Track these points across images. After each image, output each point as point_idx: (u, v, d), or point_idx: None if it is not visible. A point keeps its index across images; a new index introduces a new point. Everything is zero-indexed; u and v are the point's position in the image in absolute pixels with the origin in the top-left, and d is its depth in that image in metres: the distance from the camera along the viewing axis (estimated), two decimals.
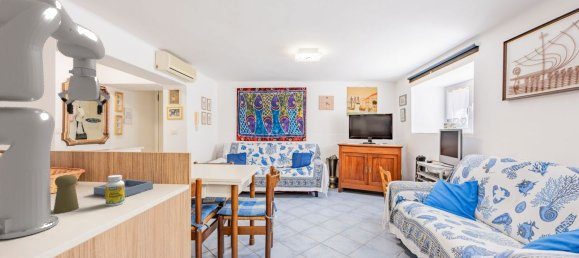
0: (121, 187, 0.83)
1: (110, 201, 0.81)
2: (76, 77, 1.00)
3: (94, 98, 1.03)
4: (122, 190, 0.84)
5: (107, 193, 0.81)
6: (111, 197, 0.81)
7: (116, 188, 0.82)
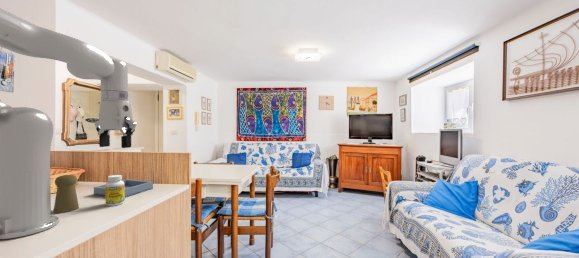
0: (121, 187, 0.83)
1: (110, 201, 0.81)
2: None
3: None
4: (122, 190, 0.84)
5: (107, 193, 0.81)
6: (111, 197, 0.81)
7: (116, 188, 0.82)
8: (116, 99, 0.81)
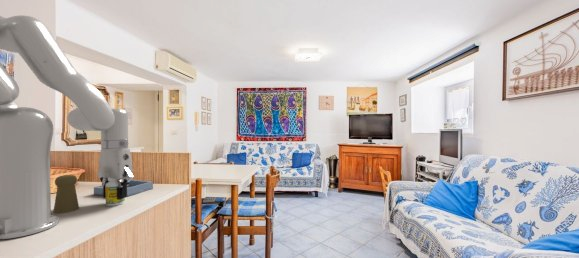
0: None
1: (110, 201, 0.81)
2: None
3: None
4: None
5: (107, 193, 0.81)
6: (111, 197, 0.81)
7: (116, 188, 0.82)
8: (116, 148, 0.81)
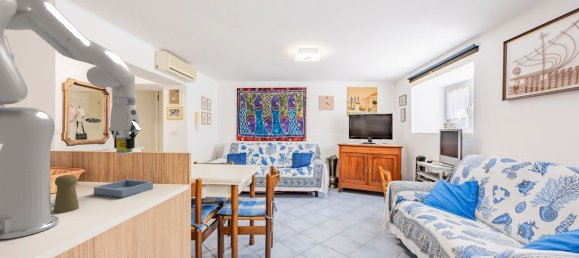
0: None
1: (120, 150, 0.94)
2: None
3: None
4: None
5: (118, 143, 0.94)
6: (121, 147, 0.94)
7: (125, 139, 0.95)
8: (125, 104, 0.94)
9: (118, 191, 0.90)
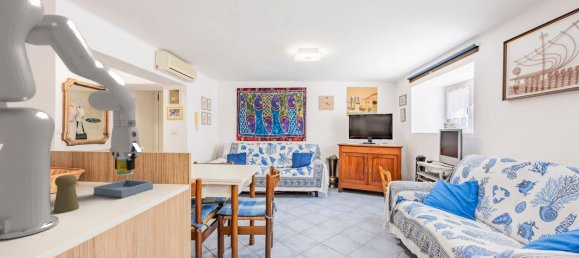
0: None
1: (121, 171, 0.96)
2: None
3: None
4: None
5: (118, 165, 0.96)
6: (122, 168, 0.96)
7: (126, 161, 0.96)
8: (126, 127, 0.95)
9: (118, 191, 0.90)
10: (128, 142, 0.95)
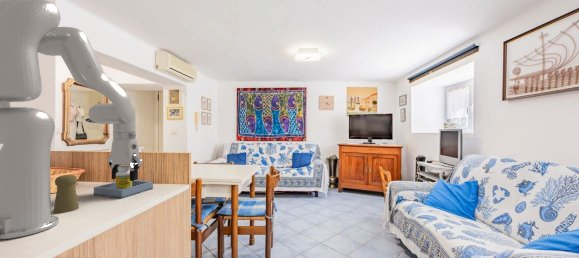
0: (129, 176, 0.97)
1: (120, 188, 0.95)
2: None
3: None
4: None
5: (117, 181, 0.96)
6: (121, 185, 0.96)
7: (125, 177, 0.96)
8: (126, 139, 0.95)
9: (118, 191, 0.90)
10: (128, 154, 0.95)
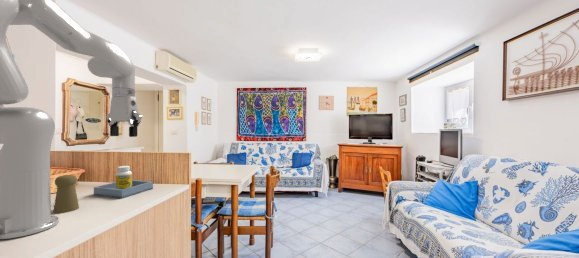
0: (129, 176, 0.97)
1: (120, 188, 0.95)
2: None
3: None
4: (130, 179, 0.98)
5: (117, 181, 0.96)
6: (121, 185, 0.96)
7: (125, 177, 0.96)
8: (125, 95, 0.95)
9: (118, 191, 0.90)
10: (127, 110, 0.94)
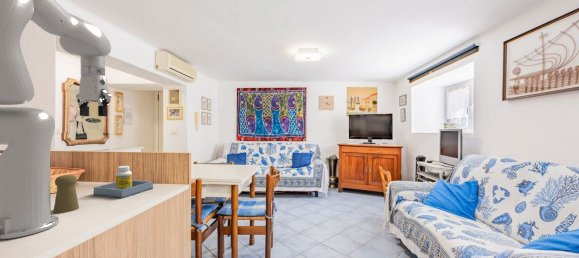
0: (129, 176, 0.97)
1: (120, 188, 0.95)
2: None
3: None
4: (130, 179, 0.98)
5: (117, 181, 0.96)
6: (121, 185, 0.96)
7: (125, 177, 0.96)
8: (94, 74, 0.94)
9: (118, 191, 0.90)
10: (96, 89, 0.93)
